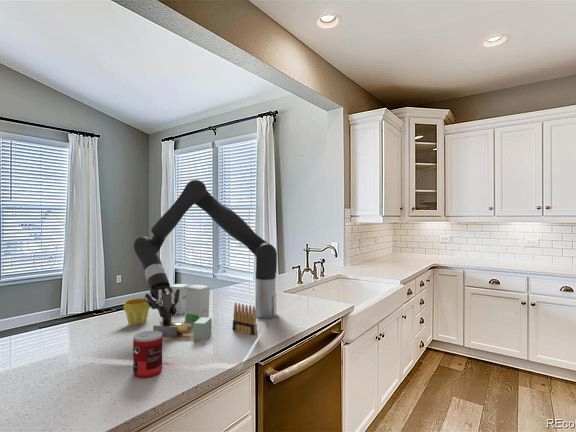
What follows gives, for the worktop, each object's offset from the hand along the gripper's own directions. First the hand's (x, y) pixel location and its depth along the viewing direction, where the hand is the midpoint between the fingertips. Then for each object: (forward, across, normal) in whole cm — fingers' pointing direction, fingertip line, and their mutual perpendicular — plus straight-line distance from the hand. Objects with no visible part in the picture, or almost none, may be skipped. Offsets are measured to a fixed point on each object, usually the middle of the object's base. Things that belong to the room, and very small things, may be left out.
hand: (169, 315), depth 125 cm
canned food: (+22, -16, -9) cm, 28 cm away
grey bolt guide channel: (+4, 0, +6) cm, 8 cm away
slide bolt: (+6, +2, +5) cm, 8 cm away
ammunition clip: (+17, +23, -4) cm, 29 cm away
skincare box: (-2, +17, +14) cm, 22 cm away
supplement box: (-16, +18, +29) cm, 38 cm away
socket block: (+12, +9, -1) cm, 15 cm away
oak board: (+8, +4, +4) cm, 10 cm away
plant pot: (-12, -3, +24) cm, 27 cm away
